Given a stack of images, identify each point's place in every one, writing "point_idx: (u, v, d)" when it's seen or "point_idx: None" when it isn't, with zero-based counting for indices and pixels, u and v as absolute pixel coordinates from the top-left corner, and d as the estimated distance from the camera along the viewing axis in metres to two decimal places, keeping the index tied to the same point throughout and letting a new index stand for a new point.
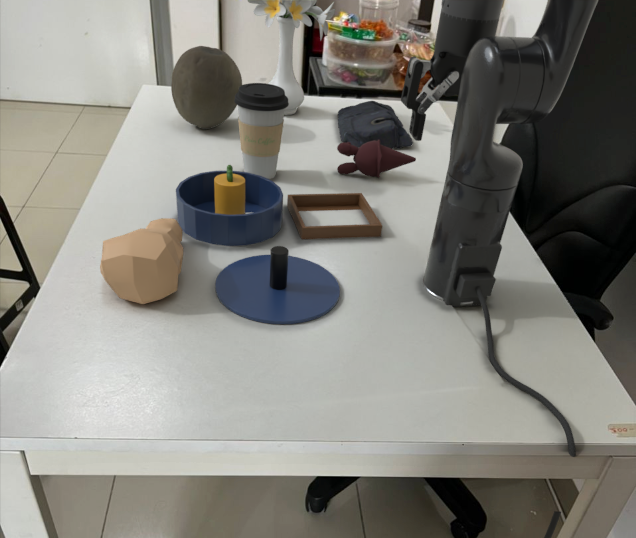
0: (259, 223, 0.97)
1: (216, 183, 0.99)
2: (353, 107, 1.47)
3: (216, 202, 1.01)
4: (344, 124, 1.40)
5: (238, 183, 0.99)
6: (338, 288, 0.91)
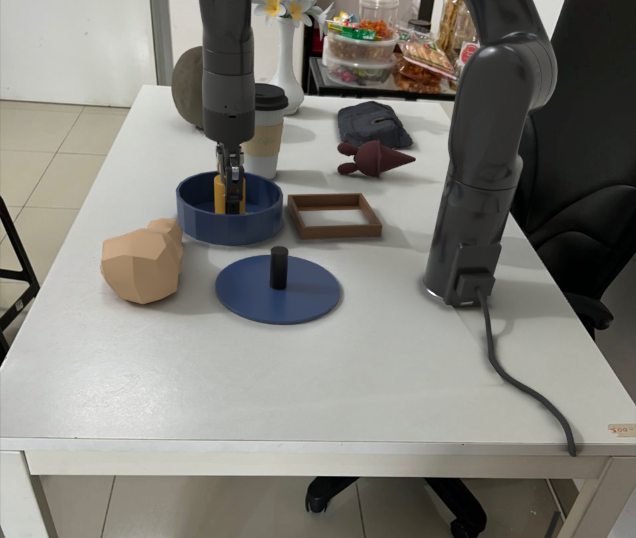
0: (259, 223, 0.97)
1: (216, 183, 0.99)
2: (353, 107, 1.47)
3: (216, 202, 1.01)
4: (344, 124, 1.40)
5: None
6: (338, 288, 0.91)
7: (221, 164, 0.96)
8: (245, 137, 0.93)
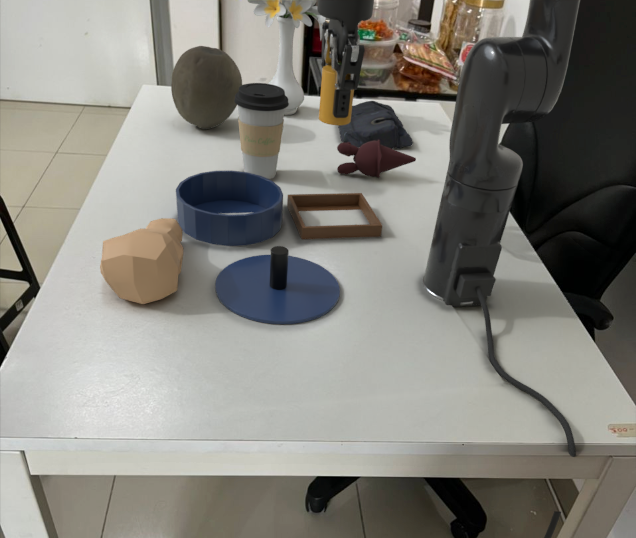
0: (259, 223, 0.97)
1: (326, 72, 0.91)
2: (353, 107, 1.47)
3: (323, 95, 0.93)
4: None
5: None
6: (338, 288, 0.91)
7: (335, 47, 0.88)
8: (365, 14, 0.85)
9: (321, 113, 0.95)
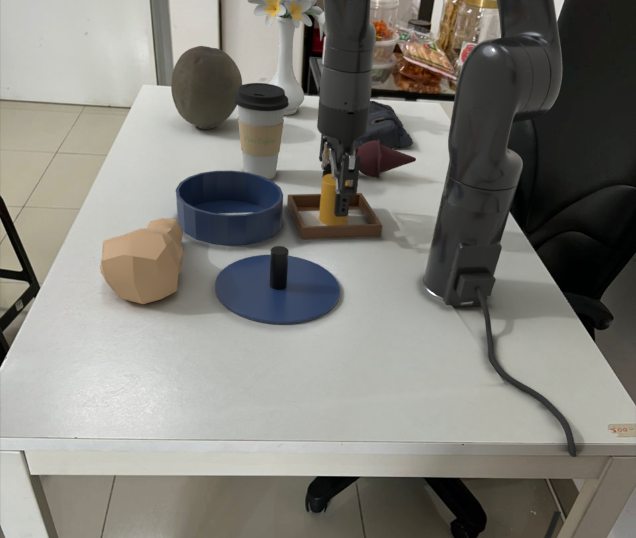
0: (259, 223, 0.97)
1: (325, 183, 1.02)
2: None
3: (323, 201, 1.04)
4: None
5: (346, 183, 1.02)
6: (338, 288, 0.91)
7: (334, 158, 0.98)
8: (360, 133, 0.95)
9: (320, 215, 1.06)
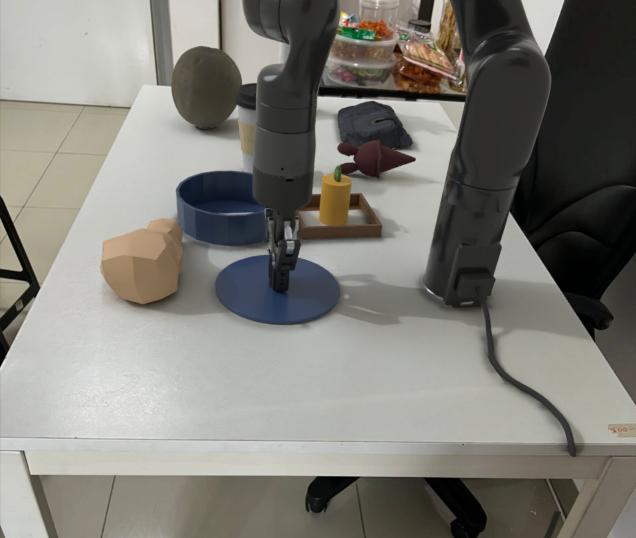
0: (259, 223, 0.97)
1: (325, 183, 1.02)
2: (353, 107, 1.47)
3: (323, 201, 1.04)
4: (344, 124, 1.40)
5: (346, 183, 1.02)
6: (338, 288, 0.91)
7: (272, 232, 0.82)
8: (302, 202, 0.79)
9: (320, 215, 1.06)
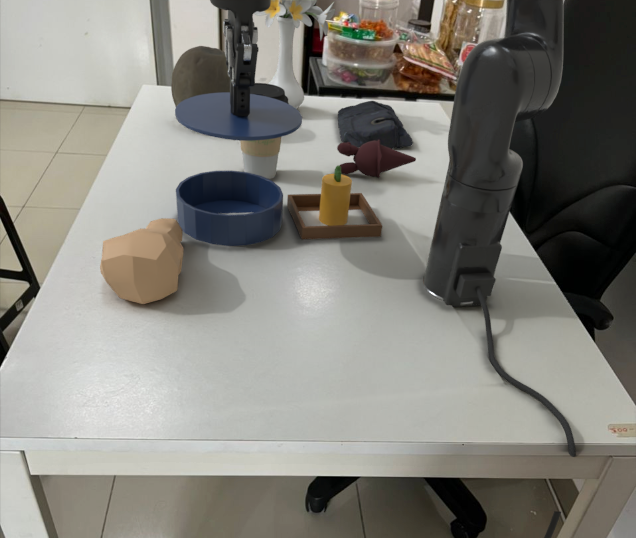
0: (259, 223, 0.97)
1: (325, 183, 1.02)
2: (353, 107, 1.47)
3: (323, 201, 1.04)
4: (344, 124, 1.40)
5: (346, 183, 1.02)
6: (300, 117, 0.89)
7: (230, 42, 0.81)
8: (260, 4, 0.78)
9: (320, 215, 1.06)
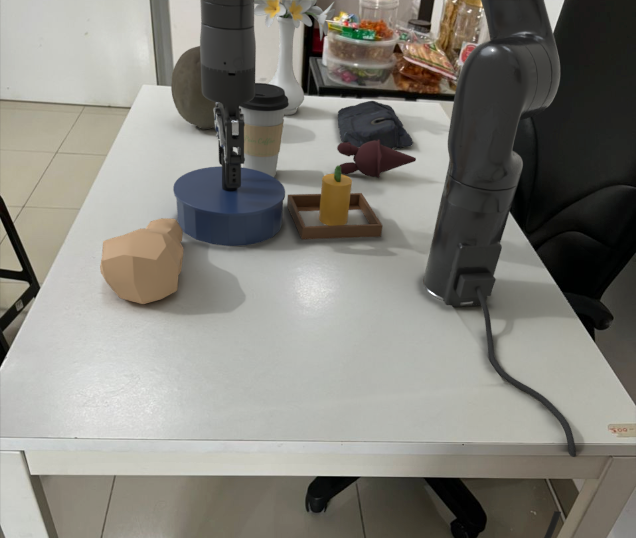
0: (259, 223, 0.97)
1: (325, 183, 1.02)
2: (353, 107, 1.47)
3: (323, 201, 1.04)
4: (344, 124, 1.40)
5: (346, 183, 1.02)
6: (284, 191, 1.01)
7: (220, 124, 0.92)
8: (245, 97, 0.89)
9: (320, 215, 1.06)
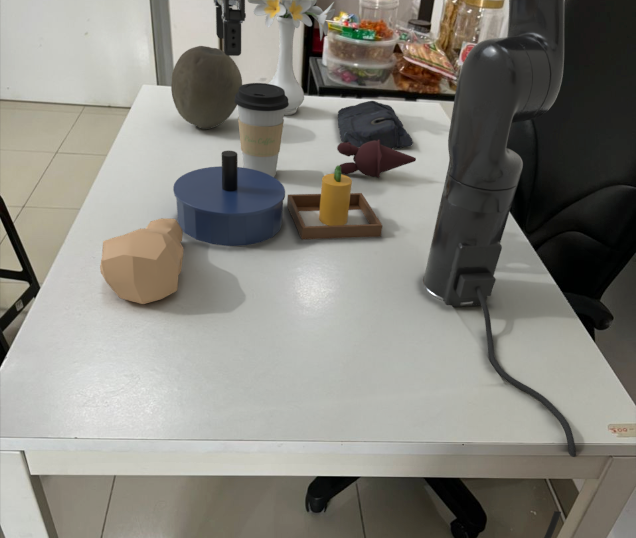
0: (259, 223, 0.97)
1: (325, 183, 1.02)
2: (353, 107, 1.47)
3: (323, 201, 1.04)
4: (344, 124, 1.40)
5: (346, 183, 1.02)
6: (284, 191, 1.01)
7: None
8: None
9: (320, 215, 1.06)
